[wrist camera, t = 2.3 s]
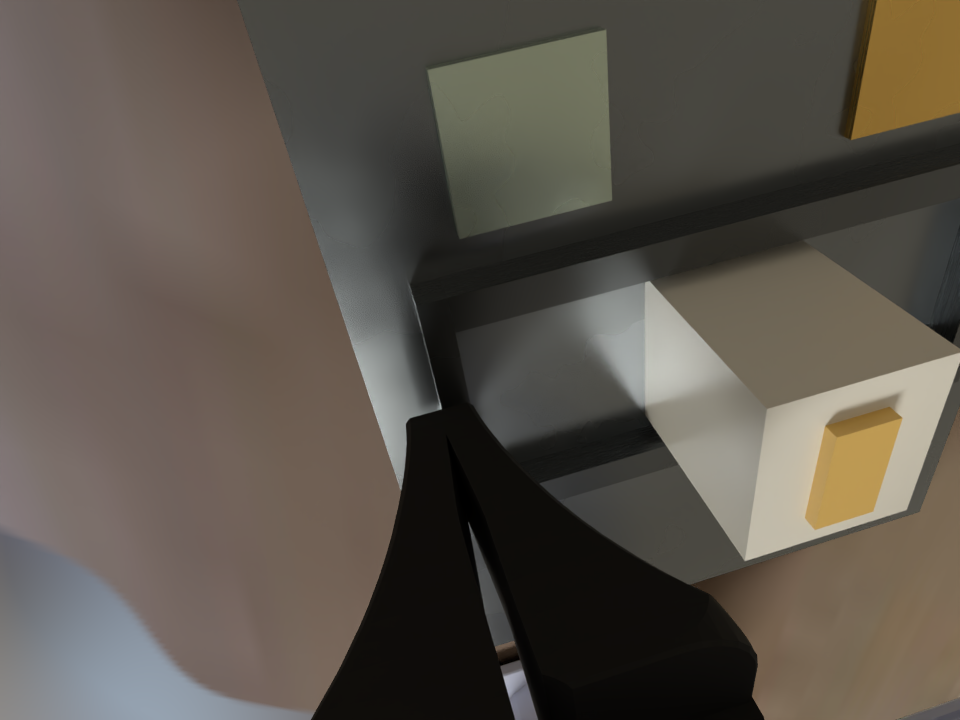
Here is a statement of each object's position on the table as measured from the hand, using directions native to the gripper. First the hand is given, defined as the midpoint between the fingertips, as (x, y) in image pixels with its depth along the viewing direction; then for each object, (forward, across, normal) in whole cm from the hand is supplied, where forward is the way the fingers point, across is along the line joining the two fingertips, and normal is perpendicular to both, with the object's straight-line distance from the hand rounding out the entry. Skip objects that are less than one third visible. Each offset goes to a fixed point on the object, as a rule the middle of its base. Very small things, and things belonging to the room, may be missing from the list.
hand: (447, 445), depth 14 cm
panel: (+2, -7, 0) cm, 7 cm away
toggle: (+1, -7, 0) cm, 7 cm away
